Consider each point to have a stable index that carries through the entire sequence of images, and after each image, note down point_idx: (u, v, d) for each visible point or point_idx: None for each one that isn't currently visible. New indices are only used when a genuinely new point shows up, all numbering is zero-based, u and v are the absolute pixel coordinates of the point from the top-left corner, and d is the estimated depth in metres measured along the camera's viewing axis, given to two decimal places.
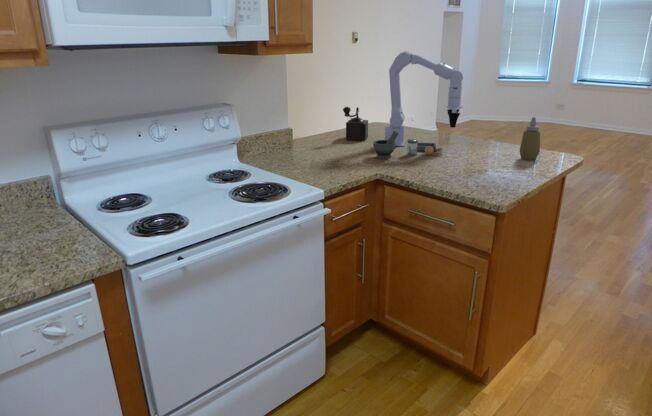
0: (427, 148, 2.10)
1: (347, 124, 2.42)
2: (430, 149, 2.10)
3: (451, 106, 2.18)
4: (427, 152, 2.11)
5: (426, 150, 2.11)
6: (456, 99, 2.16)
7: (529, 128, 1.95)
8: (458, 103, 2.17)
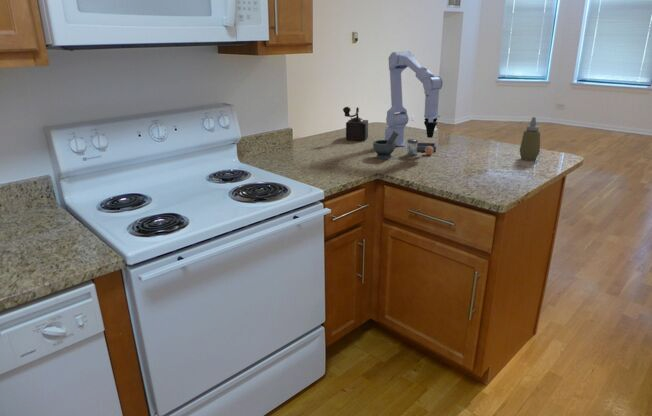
0: (427, 148, 2.10)
1: (347, 124, 2.42)
2: (430, 149, 2.10)
3: (428, 115, 2.04)
4: (427, 152, 2.11)
5: (426, 150, 2.11)
6: (433, 107, 2.02)
7: (529, 128, 1.95)
8: (435, 112, 2.03)
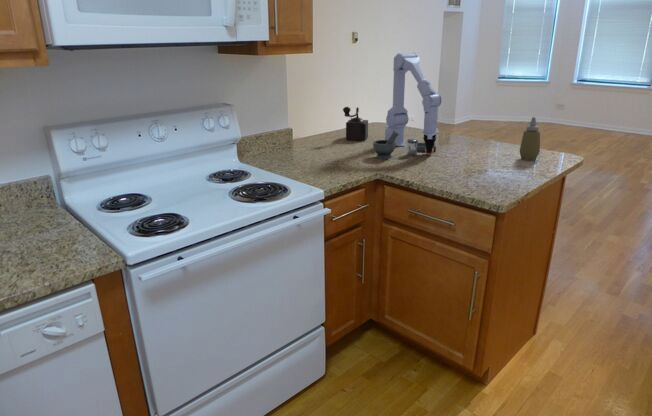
0: None
1: (347, 124, 2.42)
2: None
3: (427, 131, 2.07)
4: None
5: None
6: (432, 124, 2.05)
7: (529, 128, 1.95)
8: (434, 128, 2.06)
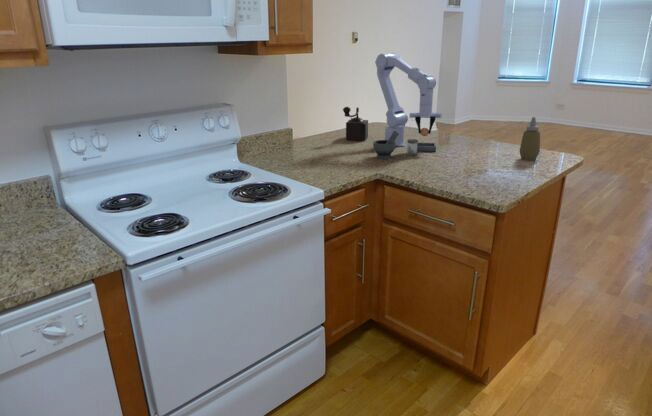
0: None
1: (347, 124, 2.42)
2: (421, 130, 2.19)
3: None
4: None
5: None
6: None
7: (529, 128, 1.95)
8: (421, 110, 2.14)
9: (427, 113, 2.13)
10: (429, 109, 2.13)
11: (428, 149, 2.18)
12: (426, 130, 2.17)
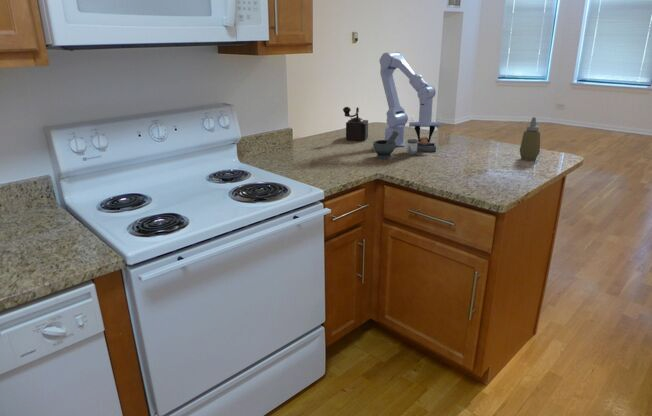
0: None
1: (347, 124, 2.42)
2: (420, 139, 2.20)
3: None
4: None
5: None
6: (419, 115, 2.16)
7: (529, 128, 1.95)
8: (420, 119, 2.16)
9: (426, 122, 2.15)
10: (428, 118, 2.15)
11: (428, 149, 2.18)
12: (425, 139, 2.19)
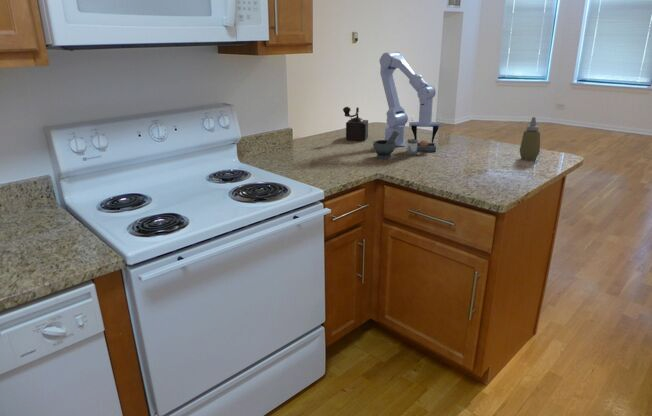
0: None
1: (347, 124, 2.42)
2: (420, 142, 2.21)
3: None
4: None
5: None
6: (419, 115, 2.16)
7: (529, 128, 1.95)
8: (420, 119, 2.16)
9: (427, 122, 2.15)
10: (428, 118, 2.15)
11: (428, 149, 2.18)
12: (425, 142, 2.19)
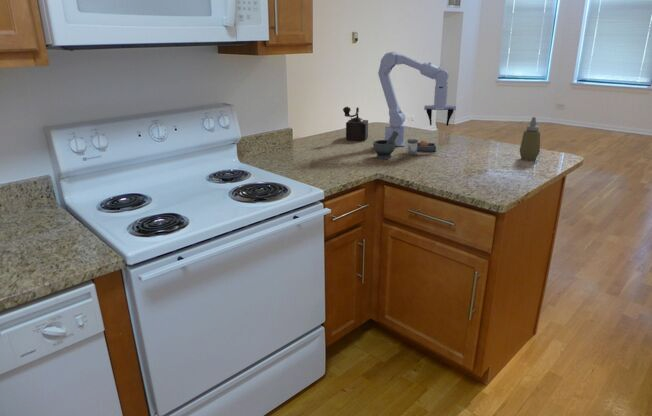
0: None
1: (347, 124, 2.42)
2: (420, 142, 2.21)
3: None
4: None
5: None
6: (434, 98, 2.19)
7: (529, 128, 1.95)
8: (435, 102, 2.19)
9: (442, 105, 2.18)
10: (444, 101, 2.17)
11: (428, 149, 2.18)
12: (425, 142, 2.19)
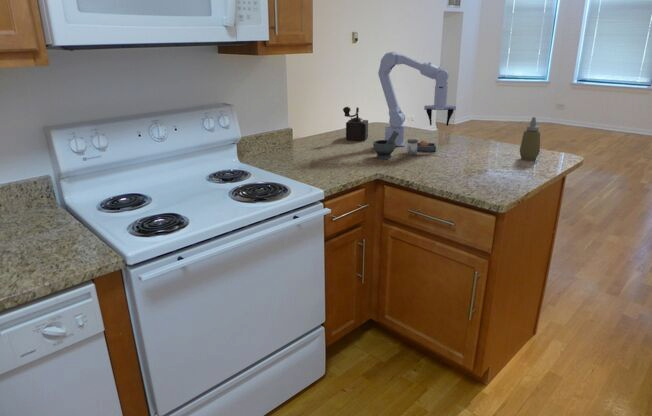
0: None
1: (347, 124, 2.42)
2: (420, 142, 2.21)
3: None
4: None
5: None
6: (434, 98, 2.19)
7: (529, 128, 1.95)
8: (435, 102, 2.19)
9: (442, 105, 2.18)
10: (444, 101, 2.17)
11: (428, 149, 2.18)
12: (425, 142, 2.19)
